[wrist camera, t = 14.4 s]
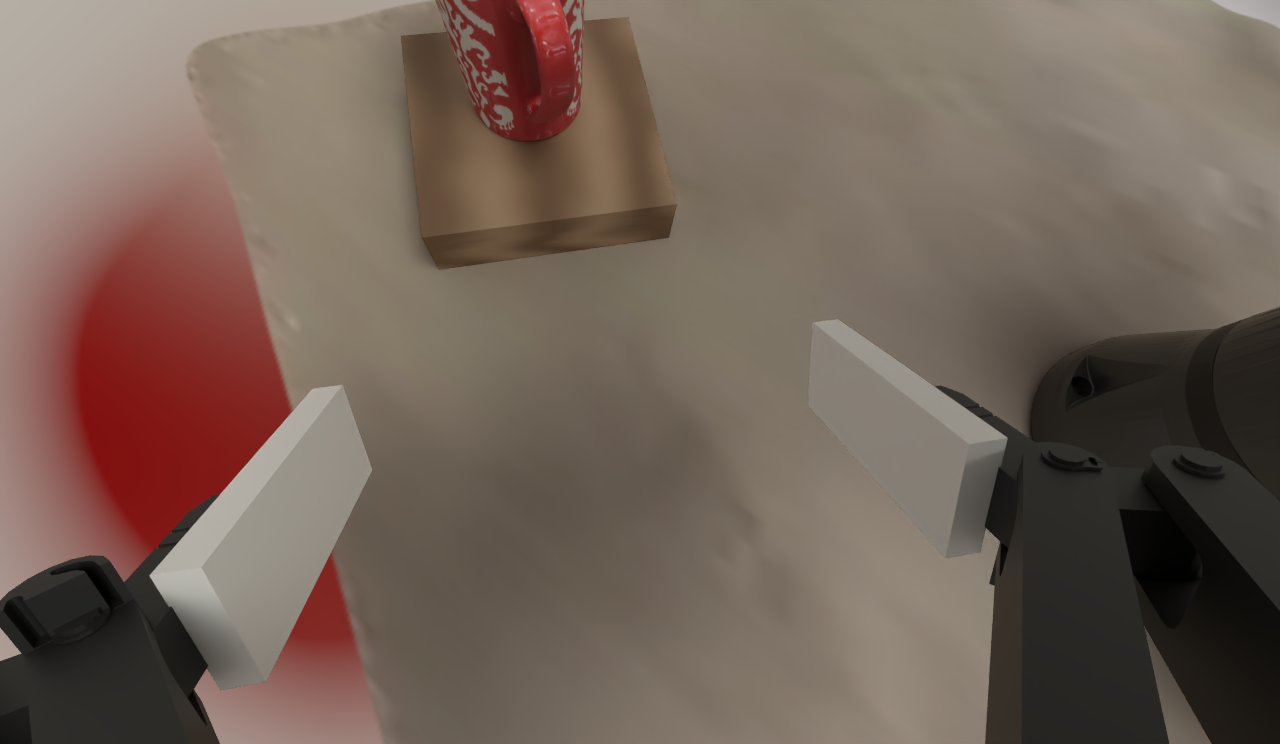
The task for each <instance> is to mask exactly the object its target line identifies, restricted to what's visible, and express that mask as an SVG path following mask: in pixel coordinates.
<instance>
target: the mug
mask: <svg viewBox="0 0 1280 744" xmlns="http://www.w3.org/2000/svg"><path fill="white" fill-rule="evenodd" d="M436 3H437V6H438V8H439V11H440V13H441V16H442V19H443V22H444V26H445V28H446V31H447V34H448V36H449V39H450V42H451V45H452V47H453V50H454V53H455V56H456V59H457V61H458V64H459V67H460V70H461V72H462V75H463V78H464V81H465V84H466V86H467V89H468V93H469V96H470V99H471V102H472V104H473V106H474V109H475V111H476V113H477V115H478V117H479V118H480V119H481V121H482V122H483V123H484V124H485V125H486V126H487V127H488V128H490V129H491V130H492V131H494V132H496V133H497V134H499V135H501V136H503V137H506V138H510V139H514V140H519V141H536V140H542V139H546V138H549V137H552V136H554V135H556V134H558V133H560V132H561V131H563V130H564V129H565V128H567V127H568V126H569V125H570V124H571V123H572V122H573V120H574V119H575V117H576V116H577V114H578V112H579V109H580V105H581V96H582V60H583V29H584V0H436Z"/></svg>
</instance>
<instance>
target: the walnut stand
mask: <svg viewBox="0 0 1280 744" xmlns="http://www.w3.org/2000/svg"><path fill="white" fill-rule="evenodd" d="M401 42H402V51H403V61H404V71H405V81H406V90H407V100H408V110H409V120H410V129H411V139H412V149H413V159H414V168H415V178H416V188H417V198H418V207H419V217H420V227H421V236H422V239H423V241H424V243H425V245H426V246H427V248H428V250H429V252H430V254H431V256H432V257H433V259H434V261H435V263H436V265H437V266H438V268H439V269H446V268H453V267H460V266H467V265H474V264H481V263H489V262H496V261H503V260H510V259H517V258H524V257H532V256H539V255H546V254H553V253H560V252H567V251H574V250H582V249H589V248H596V247H603V246H610V245H617V244H625V243H632V242H639V241H646V240H653V239H660V238H668V237H669V234H670V230H671V226H672V222H673V218H674V214H675V209H676V205H677V203H676V199H675V195H674V192H673V188H672V184H671V180H670V176H669V172H668V168H667V164H666V161H665V157H664V153H663V149H662V145H661V141H660V137H659V134H658V130H657V126H656V122H655V118H654V114H653V110H652V107H651V103H650V99H649V95H648V91H647V87H646V83H645V80H644V76H643V72H642V68H641V64H640V60H639V56H638V53H637V49H636V45H635V41H634V37H633V33H632V29H631V26H630V22H629V18H628V17H624V18H612V19H600V20H588V21H584V29H583V60H582V96H581V105H580V109H579V112H578V114H577V116H576V117H575V119H574V120H573V122H572V123H571V124H570V125H569V126H568V127H567V128H565V129H564V130H563V131H561V132H560V133H558V134H556V135H554V136H552V137H549V138H546V139H542V140H536V141H519V140H514V139H510V138H506V137H503V136H501V135H499V134H497V133H496V132H494V131H492V130H491V129H490V128H488V127H487V126H486V125H485V124H484V123H483V122H482V121H481V119H480V118H479V117H478V115H477V113H476V111H475V109H474V106H473V104H472V102H471V99H470V96H469V93H468V89H467V86H466V84H465V81H464V78H463V75H462V72H461V70H460V67H459V64H458V61H457V59H456V56H455V53H454V50H453V47H452V45H451V42H450V39H449V36H448V34H447V32H443V33H431V34H419V35H407V36H401Z"/></svg>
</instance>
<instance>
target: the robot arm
mask: <svg viewBox="0 0 1280 744" xmlns="http://www.w3.org/2000/svg"><path fill="white" fill-rule="evenodd" d="M808 406H809V407H810V408H811V409H812V411H813V412H814V413H815V414H816V415H817V416H818V417H819V418H820V419H821V421H822V422H823V423H824V424H825V425H826V426H827V427H828V428H829V429H830V431H831V432H832V433H833V434H834V435H835V436H836V437H837V438H838V439H839V441H840V442H841V443H842V444H843V445H844V446H845V447H846V448H847V450H848V451H849V452H850V453H851V454H852V455H853V456H854V457H855V458H856V460H857V461H858V462H859V463H860V464H861V465H862V466H863V467H864V468H865V470H866V471H867V472H868V473H869V474H870V475H871V476H872V477H873V478H874V480H875V481H876V482H877V483H878V484H879V485H880V486H881V487H882V488H883V490H884V491H885V492H886V493H887V494H888V495H889V496H890V497H891V498H892V500H893V501H894V502H895V503H896V504H897V505H898V506H899V507H900V509H901V510H902V511H903V512H904V513H905V514H906V515H907V516H908V517H909V519H910V520H911V521H912V522H913V523H914V524H915V525H916V526H917V527H918V529H919V530H920V531H921V532H922V533H923V534H924V535H925V536H926V537H927V539H928V540H929V541H930V542H931V543H932V544H933V545H934V546H935V547H936V549H937V550H938V551H939V552H940V553H941V554H942V555H943V556H944V557H945V558H951V557H956V556H962V555H967V554H972V553H978V552H980V551H981V547H982V542H983V538H984V534H985V530H986V528H987V529H988V530H989V531H990V532H991V533H992V534H993V535H994V536H995V537H996V538H997V539H998V540H999V541H1000V545H999V548H998V552H997V556H996V560H995V564H994V568H993V571H992V575H991V579H990V583H989V584H991V585H995V591H994V607H993V624H992V640H991V657H990V673H989V690H988V707H987V723H986V740H985V744H1169V740H1168V736H1167V731H1166V727H1165V722H1164V717H1163V713H1162V708H1161V703H1160V699H1159V694H1158V689H1157V685H1156V680H1155V675H1154V671H1153V666H1152V661H1151V657H1150V652H1149V647H1148V643H1147V638H1146V633H1145V629H1144V626H1145V628H1146V629H1147V631H1148V633H1149V635H1150V636H1151V638H1152V640H1153V642H1154V643H1155V645H1156V647H1157V649H1158V650H1159V652H1160V654H1161V656H1162V657H1163V659H1164V661H1165V663H1166V664H1167V666H1168V668H1169V670H1170V671H1171V673H1172V675H1173V677H1174V678H1175V680H1176V682H1177V684H1178V686H1179V687H1180V689H1181V691H1182V693H1183V694H1184V696H1185V698H1186V700H1187V701H1188V703H1189V705H1190V707H1191V708H1192V710H1193V712H1194V714H1195V715H1196V717H1197V719H1198V721H1199V722H1200V724H1201V726H1202V728H1203V729H1204V731H1205V733H1206V735H1207V736H1208V738H1209V740H1210V742H1211V743H1212V744H1280V307H1277V308H1275V309H1272V310H1269V311H1266V312H1263V313H1260V314H1257V315H1254V316H1251V317H1249V318H1246V319H1243V320H1240V321H1237V322H1235V323H1232V324H1229V325H1226V326H1223V327H1220V328H1217V329H1207V330H1193V331H1179V332H1165V333H1151V334H1137V335H1125V336H1119V337H1114V338H1110V339H1106V340H1103V341H1100V342H1098V343H1095V344H1093V345H1090V346H1088V347H1085V348H1083V349H1080V350H1078V351H1076V352H1073V353H1071V354H1069V355H1067V356H1066V357H1064V358H1063V359H1061V360H1060V361H1059V362H1058V363H1056V364H1055V365H1054V366H1053V367H1052V368H1051V369H1050V371H1049V372H1048V373H1047V374H1046V376H1045V377H1044V379H1043V380H1042V382H1041V384H1040V386H1039V388H1038V391H1037V393H1036V397H1035V400H1034V404H1033V410H1032V439H1033V440H1031V439H1030V438H1028V437H1027V436H1025V435H1024V434H1022V433H1021V432H1019V431H1018V430H1016V429H1015V428H1013V427H1012V426H1010V425H1009V424H1007V423H1006V422H1004V421H1003V420H1001V419H1000V418H998V417H997V416H993V414H992V413H991V412H989V411H988V410H986V409H985V408H983V407H979V404H977V403H976V402H974V401H973V400H971V399H970V398H968V397H967V396H965V395H964V394H962V393H959V392H956V391H954V390H951V389H948V388H946V387H943V386H936V387H934V386H933V385H931V384H930V383H929V382H927V381H926V380H924V379H923V378H921V377H920V376H918V375H917V374H916V373H914V372H913V371H911V370H910V369H908V368H907V367H906V366H904V365H903V364H901V363H900V362H898V361H897V360H896V359H894V358H893V357H891V356H890V355H888V354H887V353H886V352H884V351H883V350H881V349H880V348H878V347H877V346H876V345H874V344H873V343H871V342H870V341H868V340H867V339H866V338H864V337H863V336H861V335H860V334H858V333H857V332H855V331H854V330H853V329H851V328H850V327H848V326H847V325H845V324H844V323H843V322H841V321H840V320H838V319H835V320H827V321H820V322H813V325H812V343H811V361H810V378H809V396H808ZM371 472H372V468H371V465H370V462H369V459H368V456H367V453H366V451H365V448H364V445H363V442H362V439H361V436H360V433H359V431H358V428H357V425H356V422H355V419H354V416H353V413H352V411H351V408H350V405H349V402H348V399H347V396H346V393H345V391H344V388H343V385H338V386H330V387H323V388H315V389H312V390H311V391H310V392H309V393H308V395H307V396H306V397H305V398H304V399H303V400H302V401H301V403H300V404H299V405H298V406H297V407H296V408H295V409H294V411H293V412H292V413H291V414H290V415H289V416H288V418H287V419H286V420H285V421H284V422H283V423H282V424H281V426H280V427H279V428H278V429H277V430H276V431H275V432H274V434H273V435H272V436H271V437H270V438H269V439H268V440H267V441H266V443H265V444H264V445H263V446H262V447H261V448H260V450H259V451H258V452H257V453H256V454H255V455H254V457H253V458H252V459H251V460H250V461H249V462H248V463H247V464H246V466H245V467H244V468H243V469H242V470H241V471H240V473H239V474H238V475H237V476H236V477H235V478H234V479H233V480H232V482H231V483H230V484H229V485H228V486H227V488H225V490H224V491H223V492H222V493H221V494H219V495H213V496H211V497H210V498H208V499H207V500H205V501H204V502H202V503H201V504H200V505H198V506H197V507H196V508H194V509H192V510H191V511H190V512H188V513H187V514H186V516H185V517H184V518H183V519H182V520H181V521H180V522H179V523H178V524H177V525H176V526H175V527H174V529H173V530H172V533H171V534H168V535H167V536H166V537H165V538H164V540H163V541H162V542H161V543H160V544H159V548H158V549H154V550H153V552H152V553H151V554H150V555H149V556H148V557H147V558H146V559H145V560H144V561H143V562H142V564H141V565H140V566H139V567H138V568H137V569H136V570H135V571H134V572H133V574H132V575H131V576H130V577H129V578H128V579H127V580H126V581H125V582H123V580H122V579H121V577H120V576H119V574H118V573H117V571H116V570H115V568H114V567H113V565H112V564H111V562H110V561H109V560H108V559H107V558H105V557H104V556H91V555H90V556H85V557H81V558H76V559H72V560H69V561H66V562H64V563H61V564H58V565H56V566H53V567H51V568H48V569H46V570H44V571H42V572H40V573H38V574H36V575H34V576H33V577H31V578H29V579H27V580H26V581H24V582H23V583H21V584H20V585H18V586H17V587H16V588H14V589H12V590H11V591H10V592H8V593H7V594H6V595H5V596H4V597H3V598H2V599H1V600H0V628H1V629H2V630H3V631H4V633H5V634H6V635H7V636H8V637H9V638H10V640H11V641H12V642H13V643H14V645H15V646H16V647H17V648H18V650H19V651H20V652H21V653H22V654H19V655H17V656H14V657H11V658H8V659H5V660H2V661H0V744H220V743H219V741H218V738H217V736H216V734H215V732H214V729H213V727H212V724H211V722H210V720H209V717H208V715H207V712H206V710H205V708H204V706H203V703H202V701H201V700H200V698H199V697H198V695H197V693H196V692H195V690H194V688H195V686H196V685H197V683H198V681H199V680H200V678H201V676H202V675H203V673H204V672H205V670H206V669H208V671H209V672H210V674H211V675H212V677H213V679H214V680H215V682H216V684H217V685H218V687H219V688H220V690H225V689H231V688H236V687H241V686H246V685H253V684H258V683H263V682H266V681H267V679H268V676H269V675H270V673H271V671H272V669H273V667H274V665H275V663H276V661H277V659H278V657H279V655H280V653H281V651H282V649H283V647H284V645H285V643H286V641H287V639H288V637H289V635H290V633H291V631H292V629H293V627H294V625H295V623H296V621H297V619H298V617H299V615H300V613H301V611H302V609H303V607H304V605H305V603H306V601H307V599H308V597H309V595H310V593H311V591H312V589H313V587H314V585H315V583H316V581H317V579H318V577H319V575H320V573H321V571H322V569H323V567H324V565H325V563H326V561H327V559H328V557H329V555H330V553H331V551H332V549H333V547H334V546H335V544H336V542H337V540H338V538H339V536H340V534H341V532H342V530H343V528H344V526H345V524H346V522H347V520H348V518H349V516H350V514H351V512H352V510H353V508H354V506H355V504H356V502H357V500H358V498H359V496H360V494H361V492H362V490H363V488H364V486H365V484H366V482H367V480H368V478H369V476H370V474H371Z"/></svg>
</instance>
